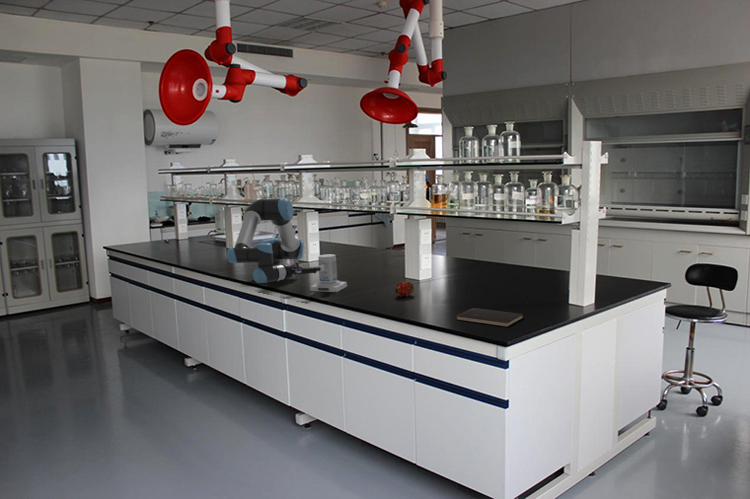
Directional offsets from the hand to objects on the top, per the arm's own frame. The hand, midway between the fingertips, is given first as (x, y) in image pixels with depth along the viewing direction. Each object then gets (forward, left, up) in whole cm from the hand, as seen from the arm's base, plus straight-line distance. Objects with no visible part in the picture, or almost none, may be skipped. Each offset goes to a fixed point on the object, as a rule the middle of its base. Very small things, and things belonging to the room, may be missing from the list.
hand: (316, 266), depth 314 cm
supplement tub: (-7, +4, -10) cm, 13 cm away
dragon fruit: (+4, +49, -14) cm, 51 cm away
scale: (-7, +4, -13) cm, 15 cm away
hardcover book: (+39, +96, -14) cm, 105 cm away
